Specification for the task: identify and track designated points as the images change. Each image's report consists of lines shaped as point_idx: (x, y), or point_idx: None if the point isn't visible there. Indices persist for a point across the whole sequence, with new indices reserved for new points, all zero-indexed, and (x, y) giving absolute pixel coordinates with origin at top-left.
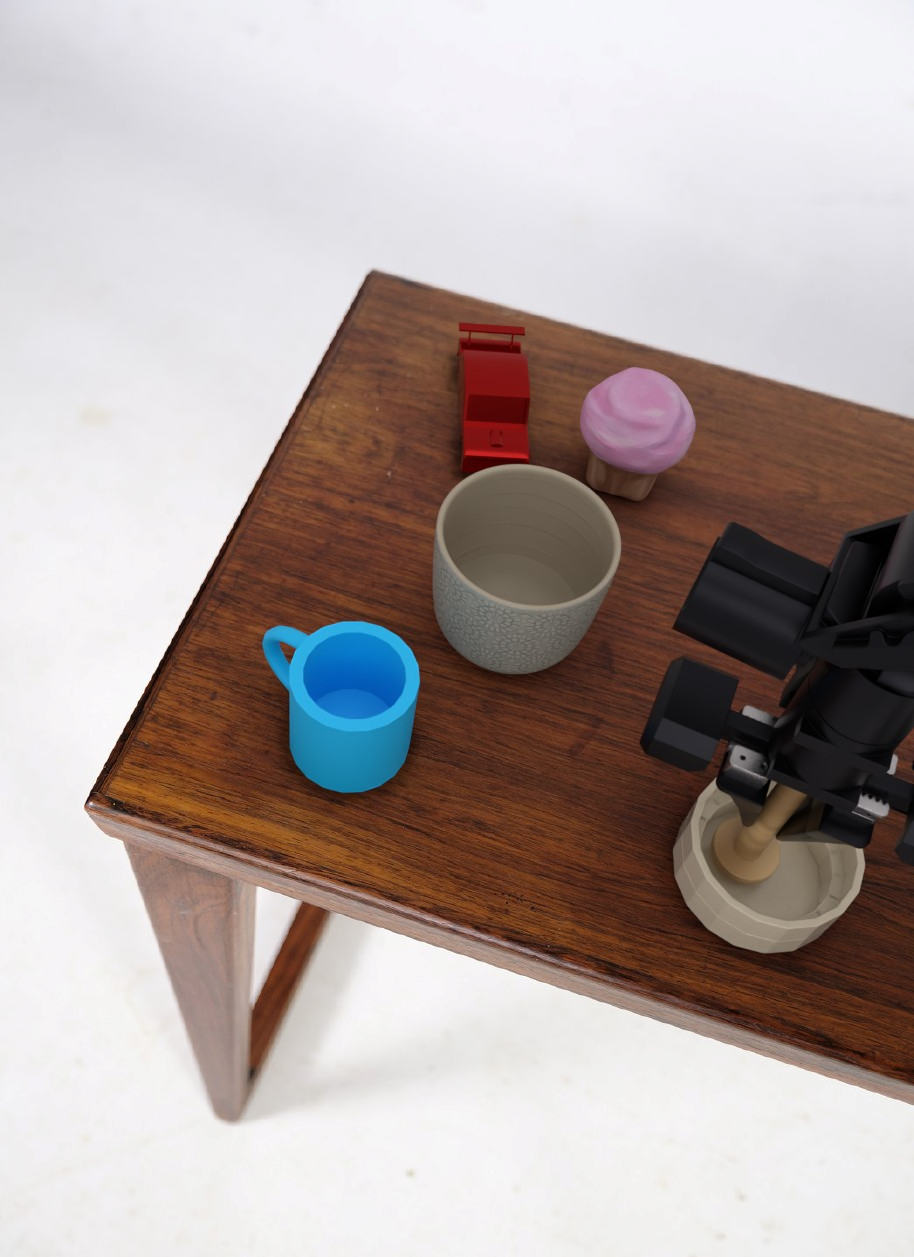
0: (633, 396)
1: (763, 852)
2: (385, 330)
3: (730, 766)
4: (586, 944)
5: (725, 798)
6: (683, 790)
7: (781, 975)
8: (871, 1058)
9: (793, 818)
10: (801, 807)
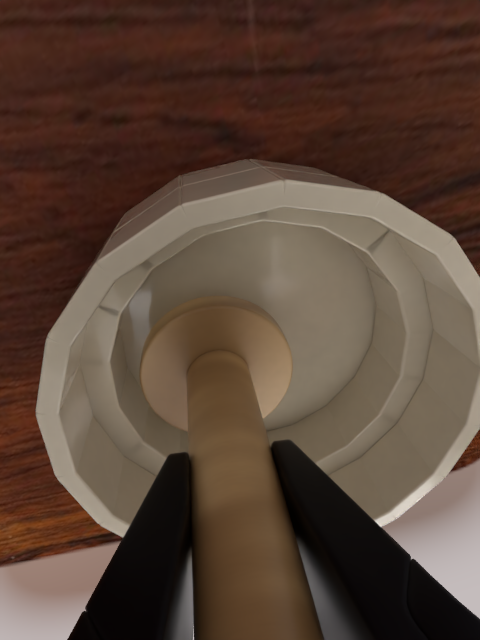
0: None
1: (254, 367)
2: None
3: None
4: (58, 533)
5: (122, 288)
6: (44, 226)
7: None
8: (460, 468)
9: (314, 589)
10: (340, 634)
